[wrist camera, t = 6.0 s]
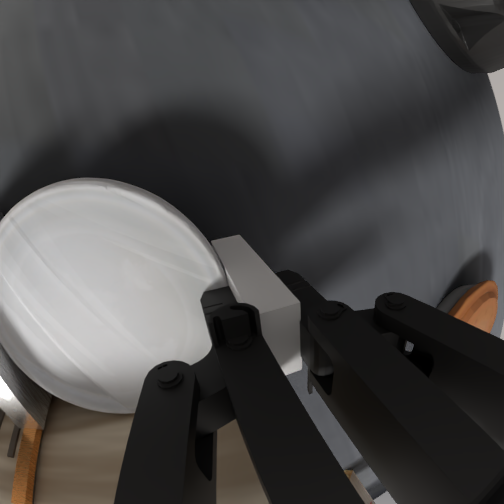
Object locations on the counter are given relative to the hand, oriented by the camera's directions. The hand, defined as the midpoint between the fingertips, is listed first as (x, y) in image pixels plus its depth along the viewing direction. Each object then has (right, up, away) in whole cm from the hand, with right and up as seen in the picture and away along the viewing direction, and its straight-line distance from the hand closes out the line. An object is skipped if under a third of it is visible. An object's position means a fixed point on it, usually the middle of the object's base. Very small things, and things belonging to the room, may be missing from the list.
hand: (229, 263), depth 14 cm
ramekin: (-7, 0, 0) cm, 7 cm away
